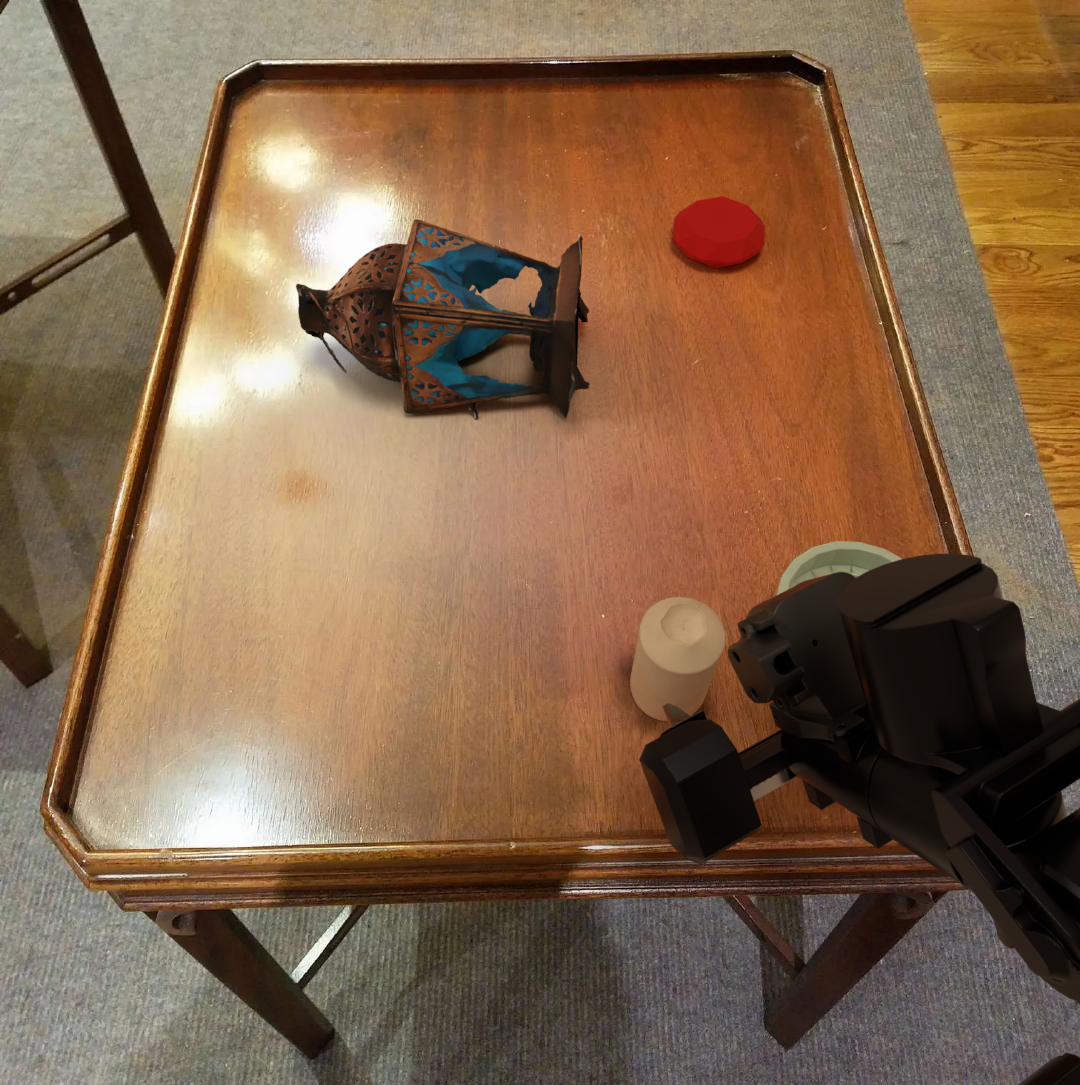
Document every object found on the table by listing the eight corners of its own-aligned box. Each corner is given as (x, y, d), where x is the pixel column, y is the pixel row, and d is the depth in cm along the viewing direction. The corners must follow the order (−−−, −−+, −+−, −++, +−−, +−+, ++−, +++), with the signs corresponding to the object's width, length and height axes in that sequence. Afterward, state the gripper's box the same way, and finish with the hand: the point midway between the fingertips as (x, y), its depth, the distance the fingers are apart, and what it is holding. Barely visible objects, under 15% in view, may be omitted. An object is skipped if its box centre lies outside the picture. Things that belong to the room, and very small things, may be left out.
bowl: (932, 715, 65) (959, 687, 61) (771, 711, 65) (786, 683, 61) (903, 577, 71) (925, 542, 67) (755, 573, 71) (769, 539, 67)
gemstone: (713, 287, 88) (718, 263, 86) (653, 238, 92) (656, 213, 90) (780, 249, 91) (786, 224, 89) (718, 203, 95) (723, 178, 92)
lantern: (580, 411, 88) (321, 394, 88) (594, 234, 84) (320, 215, 83) (588, 442, 73) (273, 422, 72) (606, 227, 68) (269, 204, 68)
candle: (708, 723, 65) (733, 663, 56) (631, 722, 65) (643, 662, 56) (702, 652, 68) (724, 585, 59) (628, 652, 68) (639, 585, 59)
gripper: (1045, 527, 40) (823, 491, 55) (687, 719, 35) (549, 624, 50) (1090, 741, 43) (869, 653, 58) (765, 944, 38) (614, 793, 53)
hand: (732, 676), depth 54 cm, fingers open, 9 cm apart
